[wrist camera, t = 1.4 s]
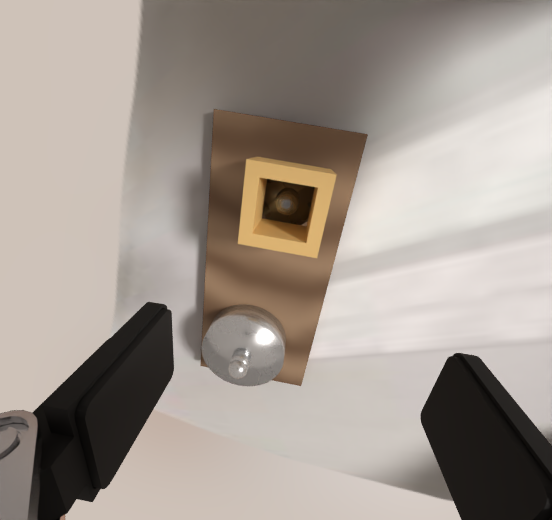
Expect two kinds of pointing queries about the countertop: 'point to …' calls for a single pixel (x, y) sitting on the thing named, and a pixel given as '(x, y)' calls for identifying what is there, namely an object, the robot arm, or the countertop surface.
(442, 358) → the countertop surface
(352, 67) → the countertop surface
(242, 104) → the countertop surface
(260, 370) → the hub
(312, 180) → the hollow square block
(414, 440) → the countertop surface
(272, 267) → the board
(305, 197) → the round drawer knob
